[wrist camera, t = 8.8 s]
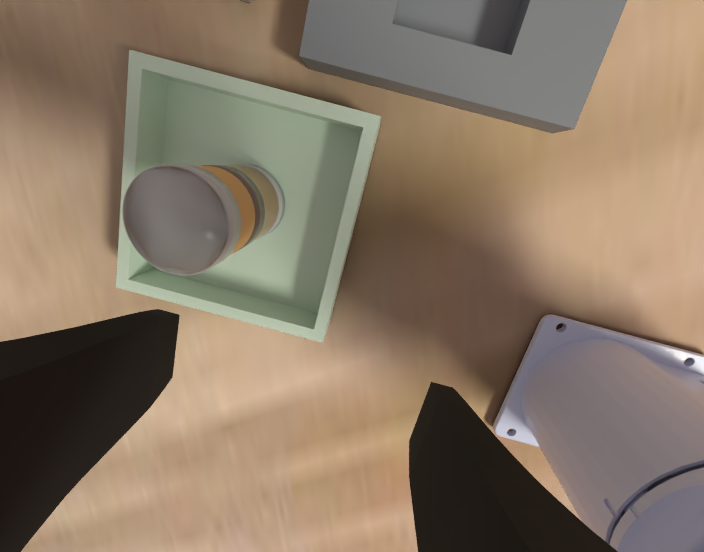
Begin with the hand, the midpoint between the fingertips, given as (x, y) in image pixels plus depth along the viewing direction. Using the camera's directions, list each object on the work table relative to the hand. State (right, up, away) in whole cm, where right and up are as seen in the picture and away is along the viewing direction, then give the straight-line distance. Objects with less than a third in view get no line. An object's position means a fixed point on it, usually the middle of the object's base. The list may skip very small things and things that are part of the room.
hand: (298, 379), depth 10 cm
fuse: (-4, +7, +9) cm, 12 cm away
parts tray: (-4, +7, +9) cm, 12 cm away
